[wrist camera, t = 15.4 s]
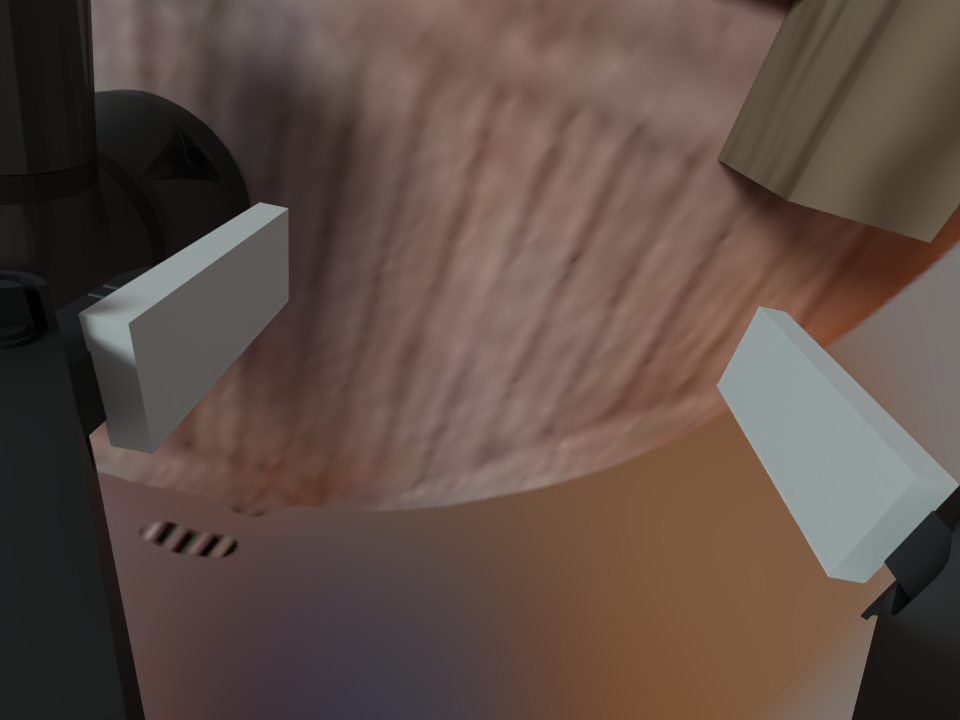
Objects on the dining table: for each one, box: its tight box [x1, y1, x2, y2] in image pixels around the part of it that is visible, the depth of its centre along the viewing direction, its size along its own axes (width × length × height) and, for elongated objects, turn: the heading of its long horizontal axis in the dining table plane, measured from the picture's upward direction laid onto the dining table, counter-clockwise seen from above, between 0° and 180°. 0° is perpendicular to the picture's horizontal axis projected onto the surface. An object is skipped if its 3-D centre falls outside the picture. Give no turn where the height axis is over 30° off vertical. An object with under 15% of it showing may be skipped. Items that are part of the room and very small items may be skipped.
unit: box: [718, 0, 960, 243], centre depth 29 cm, size 8×12×12 cm
